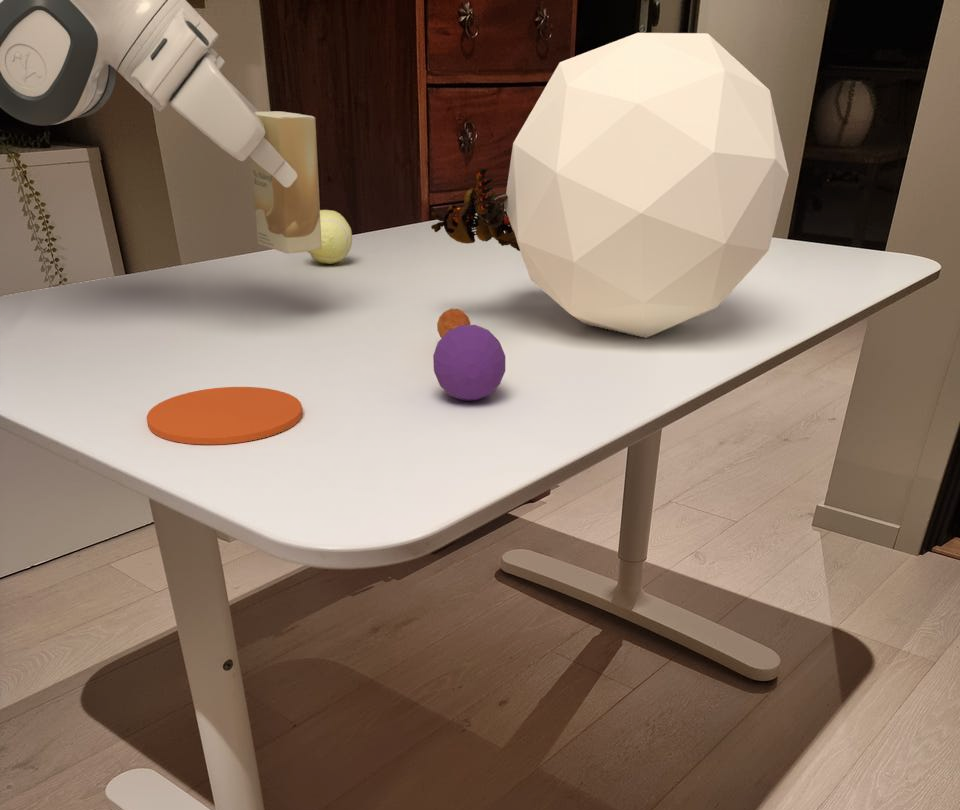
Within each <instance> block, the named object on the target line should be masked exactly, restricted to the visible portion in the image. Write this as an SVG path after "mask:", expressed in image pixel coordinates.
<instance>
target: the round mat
mask: <svg viewBox="0 0 960 810" xmlns="http://www.w3.org/2000/svg"><path fill="white" fill-rule="evenodd" d="M303 414H304V413H303V406H302V403H301V401H300V400H299V399H298V398H297V397H296V396H294V395H292V394H290V393H287V392H284V391H281V390H277V389H272V388H265V387H259V386H258V387H257V386H225V387H223V386H222V387H212V388H206V389H199V390H194V391H189V392H186V393H182V394H178V395H175V396H171V397H170V398H168V399H165V400H163V401H161V402H159V403H157V404H155V405H154V406H153V407H152V408H151V409H149V411H148V413H147V415H146V422H147V427H148V429H149V431H151V433H152V434H154V435H156V436H157V437H159V438H161V439H164V440H167V441H170V442H176V443H180V444H189V445H202V446H203V445H205V446H207V445H208V446H211V445H212V446H213V445H214V446H215V445H231V444H240V443H246V442H252V440H253V441H257V439H258V440H262V439H265V437H266V438H268V437H272V436H275V435H278V434H280V432H281V433H282V432H285V431H288V430H289V429H291V428H293V427H295V426H296V425H297V423H299V422H300V421H301V419H302V417H303ZM277 433H278V434H277ZM261 438H262V439H261Z"/></svg>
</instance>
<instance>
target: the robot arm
mask: <svg viewBox="0 0 960 810" xmlns="http://www.w3.org/2000/svg"><path fill="white" fill-rule="evenodd" d="M219 37H220V36H219V34H218V32H217V31H216V30H215V29H214V28H213V27H212V26H211V25H210V24H209V23H208V22H207V21H206V20H205V19H204V18H203V17H202V16H201V15H200V13H198V12H197V11H196V9H195V8H194V7H193V6H192V5H191V4H190V3H189V2H188V1H187V0H0V109H2V111H4V112H5V113H7V114H8V115H9V116H11V117H13V118H14V119H16V120H19V121H20V122H23V123H25V124H29V125H33V126H43V127H44V126H53V125H59V124H63V123H65V122H68V121H72V120H74V119H80V118H85V117H88V116H91V115H93V114H95V113H96V112H98V111H100V109H102V108H103V107H104V106H105V105H106V103H107V102H108V101H109V99H110V97H111V96H112V93H113V90H114V87H115V84H116V77H117V72H118V74H120V76H121V77H123V78H124V79H125V81H127V82H128V84H130V85H131V86H132V87H133V88H134V89H135V90H136V91H137V92H138V93H139V94H140V95H141V96H142V97H144V99H145V100H147V101H148V102H149V103H150V105H152V106H153V107H154V109H156V110H157V111H158V112H162V111H163V110H164V109H165V108H166V107H167V106H168V104H169V105H170V106H171V108H173V109H174V111H176V113H178V114H179V115H180V116H181V117H183V118H184V119H185V120H186V121H187V122H188V123H190V124H191V125H192V126H194V128H196V129H197V130H198V131H199V132H201V133H202V134H203V135H205V137H207V138H208V139H210V140H211V141H212V142H213V143H214V144H215V145H217V146H218V147H219V148H221V149H222V150H223V151H224V152H226V153H227V154H228V155H230V156H232V158H234V159H236V160H238V161H239V162H244V161H246V160H247V158H248V157H249V158H250V159H251V158H252V159H253V160H254V161H255V162H256V163H257V164H258V165H260V166H261V167H262V168H263V169H265V170H266V171H267V172H268V173H270V174H271V175H272V176H273V177H274V178H276V179H277V180H278V181H279V182H280V183H281V184H282V185H283V186H284V187H286V188H288V187H290V186H291V185H292V184H293V182H294V181H295V180H296V179H297V173H296V171H295V170H294V169H293V168H292V167H291V166H290V164H289V163H288V162H287V161H286V160H285V159H283V158H282V156H281V155H280V154H279V153H278V152H277V151H276V150H275V148H274V147H273V146H272V145H271V144H270V143H269V142H268V141H267V140H266V139H265V138H264V136H265V128H264V124H263V122H262V121H261V119H260V118H259V117H258V116H257V114H256V113H255V112H259V110H258V109H257V108H256V107H255V106H254V105H253V104H252V102H250V101H249V100H248V99H247V98H246V96H244V95H243V94H242V93H241V91H239V90H238V88H236V87H235V85H233V84H232V83H231V81H230V80H228V79H227V78H226V77H225V76H224V75H223V74H222V72H221V71H220V70H221V69H222V68H223V66H224V65H225V64H226V61H225V60H224V59H223V57H222V56H221V55H219V53H218V52H217V51H215V50H214V48H213V46H214V45H215V43H216V42H217V40H218V39H219Z"/></svg>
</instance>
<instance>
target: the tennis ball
mask: <svg viewBox="0 0 960 810" xmlns="http://www.w3.org/2000/svg"><path fill="white" fill-rule="evenodd" d="M320 224H321V244H322V249H321V250H316V251H307V252H306V253H308V254H310V257H311V258H312V260H314V261H316V262H318V263H321V264H325V265H326V264H327V265H333V264H337V263H339V262H341V261H342V260H344V259H345V258H346V257H347V256H348V255H349V253H350V250H351V248H352V245H353V232H352V228H351V226H350V224H349V223H348V221H347V219H346V218H345V217H344V216H343V215H342V214H341V213H339V212H338V211H336V210H333V209H332V210H330V209H320Z"/></svg>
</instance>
